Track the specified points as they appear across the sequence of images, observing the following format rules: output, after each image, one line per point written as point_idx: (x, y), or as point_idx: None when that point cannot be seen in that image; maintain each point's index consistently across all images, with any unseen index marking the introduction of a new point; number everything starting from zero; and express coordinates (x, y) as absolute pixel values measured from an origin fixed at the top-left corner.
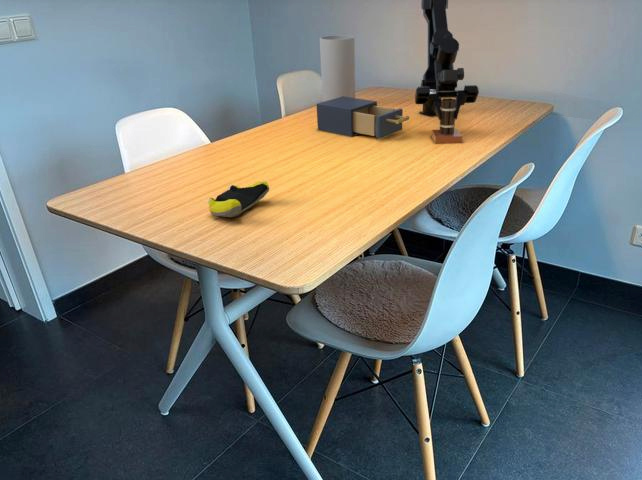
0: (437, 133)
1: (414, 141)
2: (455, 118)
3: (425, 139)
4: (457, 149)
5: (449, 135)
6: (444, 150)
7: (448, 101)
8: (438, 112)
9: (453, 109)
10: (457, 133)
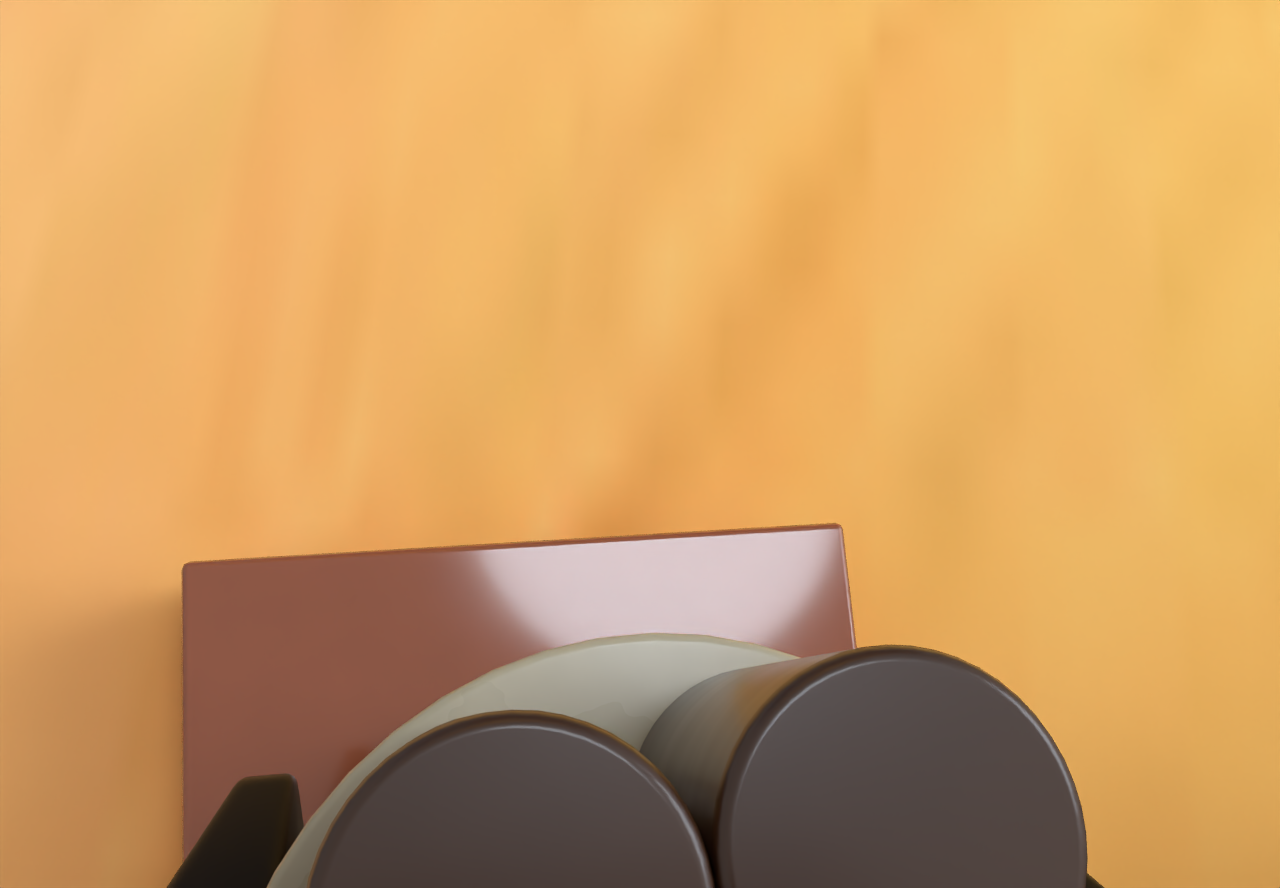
0: None
1: (1215, 711)
2: None
3: None
4: (380, 124)
5: (499, 640)
6: (641, 86)
7: (832, 674)
8: None
9: (414, 720)
10: None
